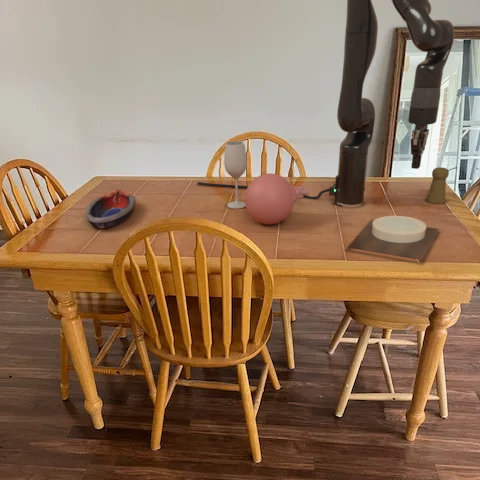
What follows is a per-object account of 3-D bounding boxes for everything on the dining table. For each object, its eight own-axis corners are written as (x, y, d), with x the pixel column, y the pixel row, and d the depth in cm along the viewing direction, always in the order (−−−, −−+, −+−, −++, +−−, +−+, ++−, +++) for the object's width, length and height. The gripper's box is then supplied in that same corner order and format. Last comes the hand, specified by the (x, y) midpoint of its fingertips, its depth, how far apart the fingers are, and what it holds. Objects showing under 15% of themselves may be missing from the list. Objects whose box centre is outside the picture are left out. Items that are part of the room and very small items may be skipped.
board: (346, 250, 138) (347, 247, 138) (371, 222, 156) (371, 219, 155) (421, 263, 130) (421, 260, 129) (438, 232, 147) (438, 228, 147)
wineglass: (222, 207, 173) (219, 145, 162) (231, 200, 179) (228, 140, 168) (243, 209, 170) (241, 146, 159) (251, 202, 176) (249, 141, 165)
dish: (76, 232, 157) (72, 217, 154) (103, 201, 183) (100, 188, 180) (124, 232, 156) (122, 216, 153) (145, 200, 182) (143, 187, 180)
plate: (365, 238, 143) (365, 229, 141) (379, 221, 154) (380, 212, 152) (418, 246, 136) (420, 237, 135) (429, 228, 147) (431, 219, 146)
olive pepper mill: (446, 203, 168) (452, 170, 162) (427, 203, 169) (432, 170, 164) (443, 197, 173) (449, 165, 167) (425, 197, 174) (430, 165, 169)
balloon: (309, 231, 151) (312, 181, 143) (244, 232, 153) (242, 182, 145) (307, 214, 164) (309, 167, 156) (246, 214, 166) (245, 168, 158)
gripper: (415, 100, 144) (407, 161, 153) (405, 107, 134) (397, 172, 143) (443, 101, 140) (433, 163, 149) (434, 108, 131) (424, 175, 140)
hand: (415, 167), depth 146 cm, fingers closed
